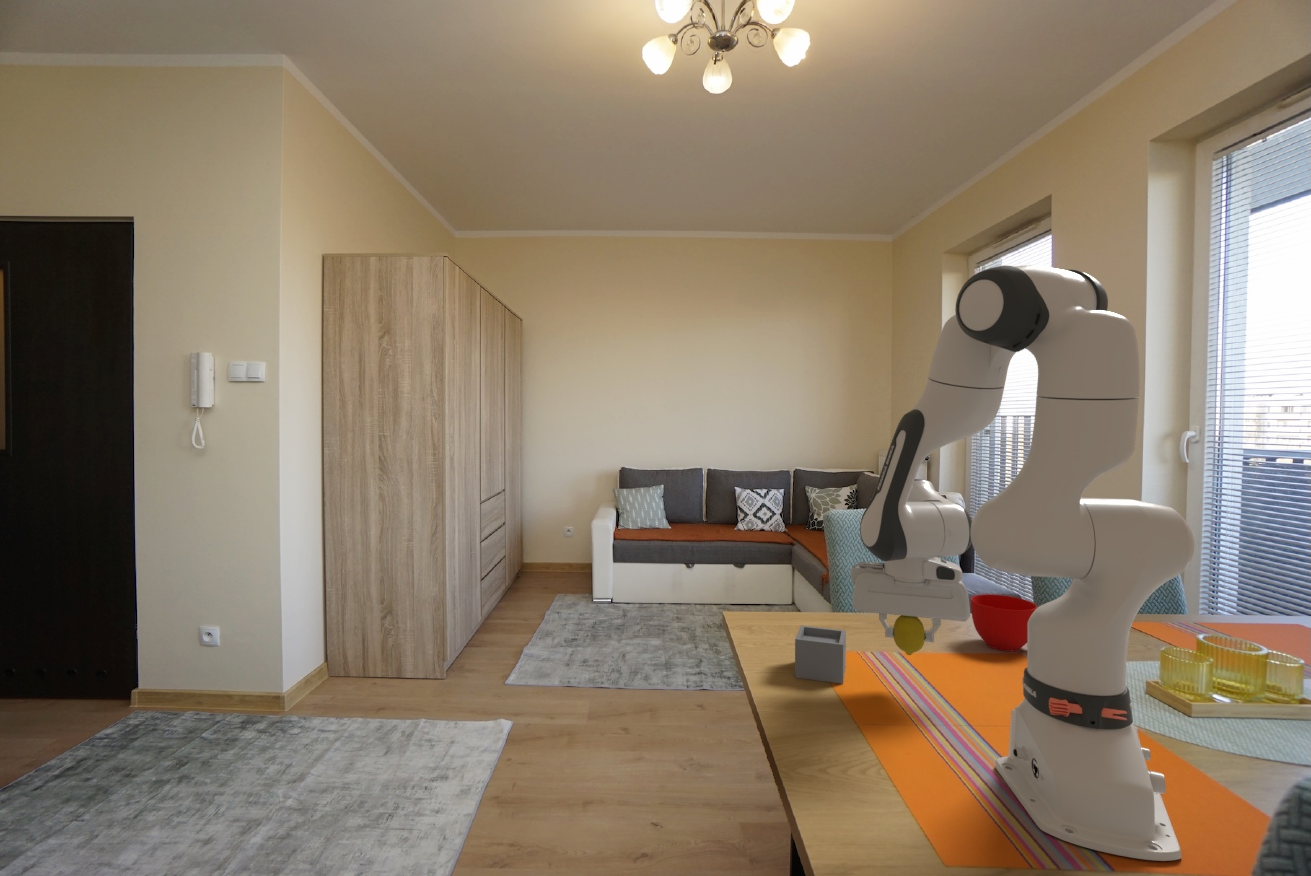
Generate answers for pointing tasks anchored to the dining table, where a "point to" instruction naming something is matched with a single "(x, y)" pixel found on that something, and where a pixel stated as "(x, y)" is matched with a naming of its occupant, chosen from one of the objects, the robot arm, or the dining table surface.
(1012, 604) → the red bowl
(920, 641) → the lemon
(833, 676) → the grey open box
